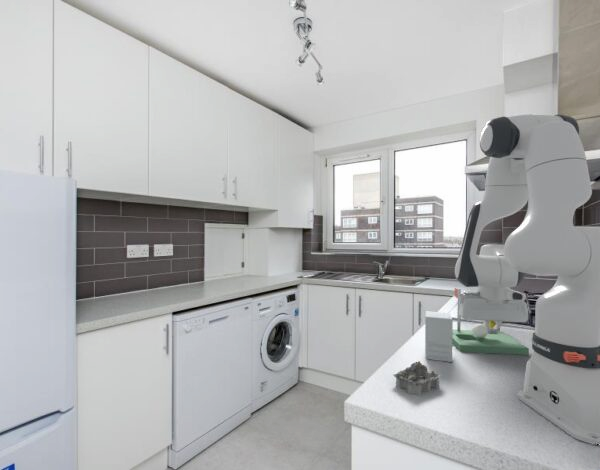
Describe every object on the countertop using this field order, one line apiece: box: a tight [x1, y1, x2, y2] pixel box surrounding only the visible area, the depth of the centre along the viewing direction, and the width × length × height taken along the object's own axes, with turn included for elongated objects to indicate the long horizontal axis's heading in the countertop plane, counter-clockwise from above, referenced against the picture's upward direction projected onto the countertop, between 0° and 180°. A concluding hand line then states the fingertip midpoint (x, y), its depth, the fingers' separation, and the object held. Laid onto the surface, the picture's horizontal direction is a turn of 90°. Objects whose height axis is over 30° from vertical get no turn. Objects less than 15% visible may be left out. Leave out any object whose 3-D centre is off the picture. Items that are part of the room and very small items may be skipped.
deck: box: [452, 287, 530, 356], centre depth 107 cm, size 19×20×17 cm
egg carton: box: [393, 360, 442, 396], centre depth 77 cm, size 11×8×4 cm
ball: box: [471, 323, 488, 338], centre depth 106 cm, size 4×4×4 cm
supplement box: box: [424, 310, 454, 363], centre depth 95 cm, size 7×7×13 cm
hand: (492, 333), depth 105 cm, fingers closed
